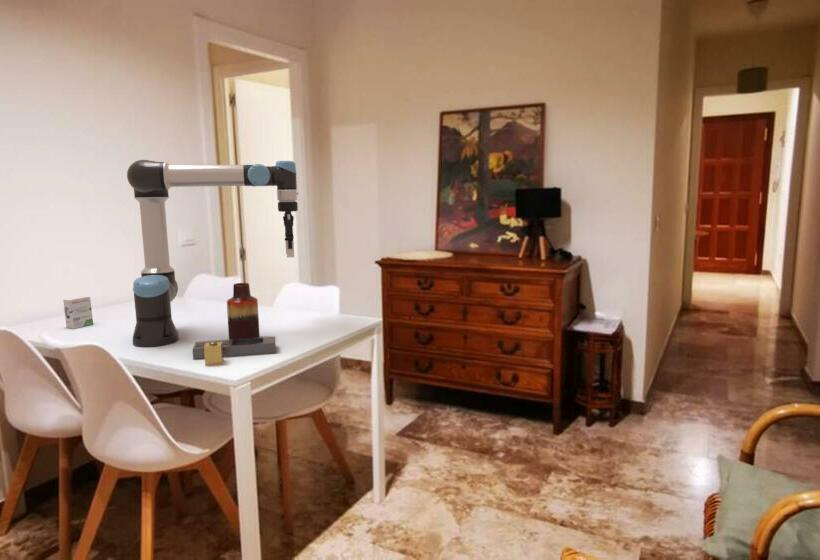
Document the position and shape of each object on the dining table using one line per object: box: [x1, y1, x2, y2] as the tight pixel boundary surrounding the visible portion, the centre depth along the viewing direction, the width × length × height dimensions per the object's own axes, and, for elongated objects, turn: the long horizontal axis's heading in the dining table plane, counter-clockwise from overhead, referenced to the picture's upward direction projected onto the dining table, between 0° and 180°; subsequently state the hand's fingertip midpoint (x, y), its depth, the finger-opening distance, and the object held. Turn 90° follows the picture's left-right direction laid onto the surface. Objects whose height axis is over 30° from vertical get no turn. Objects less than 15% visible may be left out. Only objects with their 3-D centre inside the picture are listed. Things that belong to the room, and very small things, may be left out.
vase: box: [226, 282, 260, 340], centre depth 208 cm, size 11×11×20 cm
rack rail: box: [192, 335, 277, 360], centre depth 192 cm, size 26×9×4 cm, turn 104°
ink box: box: [63, 296, 94, 330], centre depth 232 cm, size 9×5×12 cm, turn 148°
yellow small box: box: [204, 340, 224, 367], centre depth 181 cm, size 5×5×7 cm
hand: (289, 255), depth 227 cm, fingers open, 13 cm apart
